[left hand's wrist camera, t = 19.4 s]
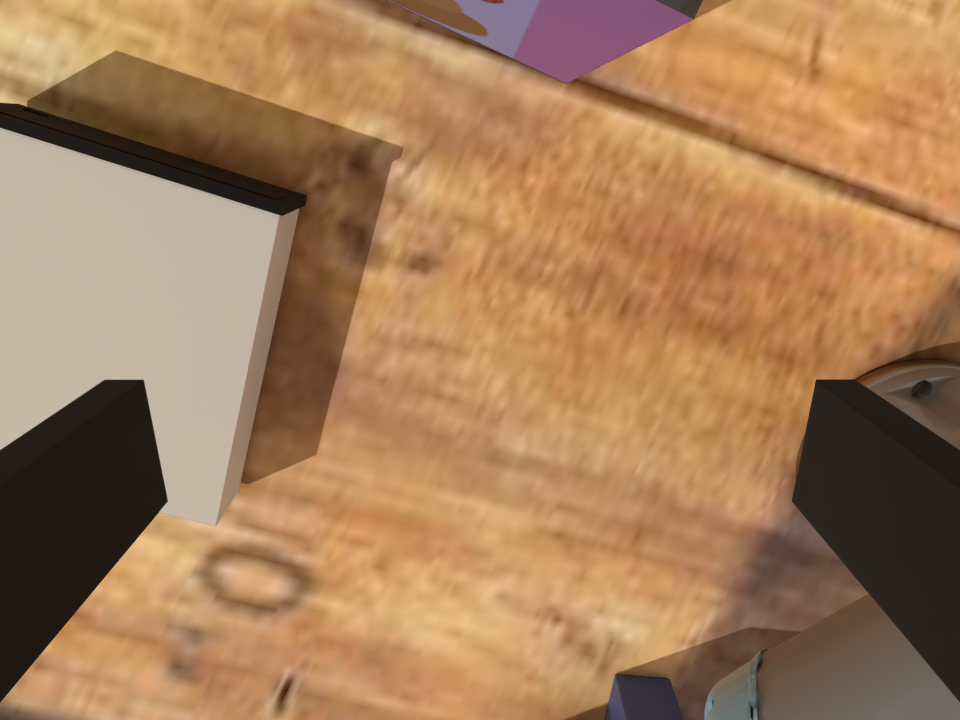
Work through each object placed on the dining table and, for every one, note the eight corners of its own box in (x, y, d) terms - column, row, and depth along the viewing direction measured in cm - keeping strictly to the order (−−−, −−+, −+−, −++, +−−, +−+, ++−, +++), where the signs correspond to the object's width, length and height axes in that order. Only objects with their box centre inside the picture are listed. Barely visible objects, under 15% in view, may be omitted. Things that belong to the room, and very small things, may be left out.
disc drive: (307, 193, 40) (284, 202, 35) (242, 490, 47) (216, 530, 42) (18, 101, 38) (-47, 98, 33) (-2, 425, 45) (-57, 459, 40)
